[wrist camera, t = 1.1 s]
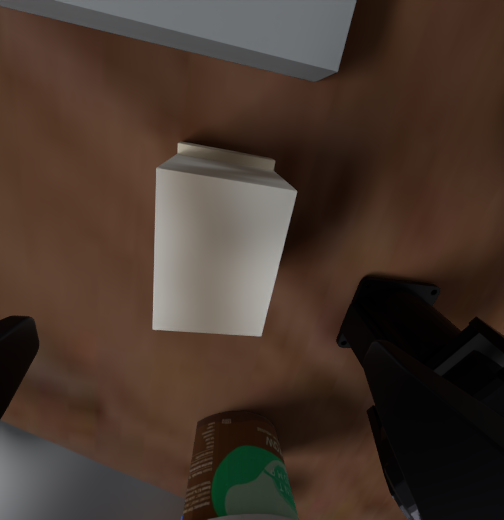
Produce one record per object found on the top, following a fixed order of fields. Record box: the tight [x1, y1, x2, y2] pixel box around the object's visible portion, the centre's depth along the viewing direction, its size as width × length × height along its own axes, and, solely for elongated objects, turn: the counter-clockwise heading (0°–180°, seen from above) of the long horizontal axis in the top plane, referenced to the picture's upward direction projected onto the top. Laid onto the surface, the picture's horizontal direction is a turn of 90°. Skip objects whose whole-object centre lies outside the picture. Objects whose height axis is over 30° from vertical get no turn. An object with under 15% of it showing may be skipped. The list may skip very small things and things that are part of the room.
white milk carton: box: [153, 142, 297, 336], centre depth 14 cm, size 5×8×6 cm, turn 170°
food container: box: [182, 411, 299, 520], centre depth 22 cm, size 12×6×10 cm, turn 37°
